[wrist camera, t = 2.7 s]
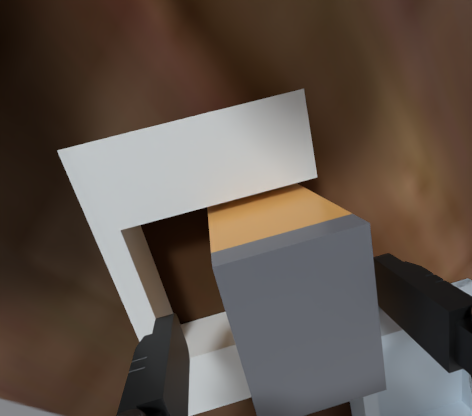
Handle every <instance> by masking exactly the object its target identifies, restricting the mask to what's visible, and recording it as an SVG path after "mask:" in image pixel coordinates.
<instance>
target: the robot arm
mask: <svg viewBox="0 0 472 416" xmlns="http://www.w3.org/2000/svg"><path fill="white" fill-rule="evenodd" d="M373 260H374V270H375V280H376V290H377V300H378V306H379V307H380V308H381V309H382V310H383V311H384V312H385V313H386V314H387V315H388V316H389V317H390V318H391V319H392V320H393V321H394V322H395V323H397V324H398V325H399V326H400V327H401V328H402V329H403V330H404V331H405V332H406V333H407V334H408V335H409V336H410V337H411V338H412V339H413V340H414V341H415V342H416V343H418V344H419V345H420V346H421V347H422V348H423V349H424V350H425V351H426V352H427V353H428V354H429V355H430V356H431V357H432V358H433V359H434V360H435V361H436V362H437V363H439V364H440V365H441V366H442V367H443V368H444V369H445V370H446V371H447V372H448V373H452V372H455V371H458V370H461V369H464V370H465V371H466V372H468V373H469V384H470V388H471V393H472V296H471V295H469V294H467V293H465V292H464V291H462V290H460V289H459V288H457V287H455V286H454V285H452V284H450V283H449V282H447V281H443V279H442V278H440V277H438V276H437V275H433V273H432V272H430V271H428V270H427V269H425V268H423V267H422V266H419V265H416V264H413V263H409V262H403V261H401V260H399V259H398V258H396V257H395V256H393V255H391V254H389V253H387V254H383V255H380V256H376V257H373ZM189 371H190V357H189V350H188V346H187V342H186V339H185V337H184V334H183V331H182V328H181V325H180V322H179V319H178V317H177V315H176V313H173V314H170V315H166V316H163V317H159V318H156V319H155V323H154V327H153V332H152V334H149V335H146V336H144V337H143V338H142V340H141V341H140V343H139V344H138V345H137V347H136V349H135V352H134V356H133V359H132V363H131V366H130V370H129V372H130V373H128V377H127V380H126V384H125V387H124V391H123V394H122V398H121V401H120V405H119V408H118V412H117V415H116V416H188V403H189Z"/></svg>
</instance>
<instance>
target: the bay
mask: <svg viewBox="0 0 472 416" xmlns="http://www.w3.org/2000/svg"><path fill="white" fill-rule="evenodd" d="M57 152H58V154H59V157H60V159H61V161H62V163H63V166H64V168H65V170H66V173H67V175H68V177H69V180H70V182H71V184H72V187H73V189H74V191H75V193H76V196H77V198H78V200H79V203H80V205H81V207H82V210H83V212H84V214H85V217H86V219H87V221H88V223H89V226H90V228H91V230H92V233H93V235H94V237H95V240H96V242H97V244H98V247H99V249H100V251H101V254H102V256H103V258H104V260H105V263H106V265H107V267H108V270H109V272H110V274H111V277H112V279H113V281H114V284H115V286H116V288H117V290H118V293H119V295H120V297H121V300H122V302H123V304H124V307H125V309H126V311H127V314H128V316H129V318H130V320H131V323H132V325H133V327H134V330H135V332H136V334H137V337H138V339H139V341H141V340H142V338H143V337H144V336H146V335H149V334H152V332H153V327H154V323H155V319H156V318H159V317H163V316H166V315H170V314H173V311H172V309H171V306H170V303H169V300H168V298H167V295H166V292H165V290H164V287H163V284H162V282H161V279H160V276H159V274H158V271H157V268H156V266H155V263H154V260H153V257H152V255H151V252H150V249H149V247H148V244H147V241H146V239H145V236H144V233H143V231H142V228H141V225H142V224H146V223H150V222H153V221H157V220H161V219H164V218H168V217H172V216H176V215H179V214H183V213H187V212H191V211H194V210H198V209H202V208H205V207H209V206H213V205H217V204H220V203H224V202H228V201H231V200H235V199H239V198H243V197H246V196H250V195H254V194H258V193H261V192H265V191H269V190H272V189H276V188H280V187H284V186H287V185H291V184H295V183H299V182H302V181H306V180H310V179H313V178H317V171H316V164H315V158H314V151H313V145H312V138H311V132H310V125H309V119H308V112H307V106H306V99H305V93H304V89H300V90H296V91H292V92H288V93H284V94H280V95H276V96H272V97H268V98H264V99H260V100H256V101H252V102H248V103H244V104H240V105H236V106H232V107H228V108H224V109H220V110H216V111H212V112H208V113H204V114H200V115H196V116H192V117H188V118H184V119H180V120H176V121H172V122H168V123H164V124H160V125H156V126H152V127H148V128H144V129H140V130H137V131H133V132H129V133H125V134H121V135H117V136H113V137H109V138H105V139H101V140H97V141H93V142H89V143H85V144H81V145H77V146H73V147H69V148H65V149H61V150H57ZM181 328H182V331H183V334H184V337H185V339H186V342H187V346H188V350H189V357H190V371H189V403H188V416H192V415H195V414H198V413H201V412H205V411H208V410H211V409H214V408H218V407H221V406H224V405H228V404H231V403H234V402H237V401H241V400H244V399H247V398H250V397H251V394H250V390H249V387H248V384H247V381H246V377H245V374H244V371H243V367H242V364H241V361H240V357H239V354H238V351H237V347H236V344H235V341H234V338H233V334H232V331H231V328H230V324H229V321H228V318H227V314H226V312H222V313H219V314H215V315H212V316H209V317H205V318H202V319H198V320H195V321H191V322H188V323H184V324H181Z"/></svg>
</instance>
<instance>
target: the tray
mask: <svg viewBox="0 0 472 416" xmlns="http://www.w3.org/2000/svg"><path fill="white" fill-rule="evenodd" d="M451 284H452V285H454V286H455V287H457V288H459V289H460V290H462V291H464V292H465V293H467V294H469V295H471V296H472V280H470V279H464V280H461V281H457V282H454V283H451ZM378 310H379V320H380V330H381V339H382V349H383V359H384V369H385V379H386V389H387V390H384V391H381V392H378V393H374V394H371V395H368V396H365V397H362V398H359V399H355V400H352V401H350V406H351V412H352V416H472V393H471V388H470V384H469V373H468V372H466V371H465V370H464V369H461V370H458V371H455V372H452V373H448V372H447V371H446V370H445V369H444V368H443V367H442V366H441V365H440V364H439V363H437V362H436V361H435V360H434V359H433V358H432V357H431V356H430V355H429V354H428V353H427V352H426V351H425V350H424V349H423V348H422V347H421V346H420V345H419V344H418V343H416V342H415V341H414V340H413V339H412V338H411V337H410V336H409V335H408V334H407V333H406V332H405V331H404V330H403V329H402V328H401V327H400V326H399V325H398V324H397V323H395V322H394V321H393V320H392V319H391V318H390V317H389V316H388V315H387V314H386V313H385V312H384V311H383V310H382V309H381V308H380V307H379V306H378Z"/></svg>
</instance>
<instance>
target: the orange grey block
mask: <svg viewBox="0 0 472 416" xmlns="http://www.w3.org/2000/svg"><path fill="white" fill-rule="evenodd" d="M207 211H208V223H209V234H210V246H211V258H212V268H213V271H214V275H215V278H216V281H217V285H218V288H219V291H220V295H221V298H222V301H223V304H224V308H225V311H226V314H227V318H228V321H229V324H230V328H231V331H232V334H233V338H234V341H235V344H236V347H237V351H238V354H239V357H240V361H241V364H242V367H243V371H244V374H245V377H246V381H247V384H248V387H249V390H250V394H251V397H252V400H253V404H254V407H255V410H256V414H257V416H305V415H308V414H311V413H314V412H317V411H320V410H324V409H327V408H330V407H333V406H336V405H339V404H343V403H346V402H349V401H352V400H355V399H359V398H362V397H365V396H368V395H371V394H374V393H378V392H381V391H384V390H387V389H386V379H385V369H384V359H383V349H382V339H381V330H380V320H379V310H378V300H377V290H376V280H375V270H374V260H373V250H372V240H371V230H370V223H369V222H367V221H365V220H363V219H361V218H359V217H358V216H356V215H354V214H352V213H350V212H348V211H347V210H345V209H343V208H341V207H339V206H338V205H336V204H334V203H332V202H330V201H328V200H327V199H325V198H323V197H321V196H319V195H317V194H316V193H314V192H312V191H310V190H308V189H306V188H305V187H303V186H301V185H299V184H297V183H295V184H291V185H287V186H284V187H280V188H276V189H272V190H269V191H265V192H261V193H258V194H254V195H250V196H246V197H243V198H239V199H235V200H231V201H228V202H224V203H220V204H217V205H213V206H209V207H207Z"/></svg>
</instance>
